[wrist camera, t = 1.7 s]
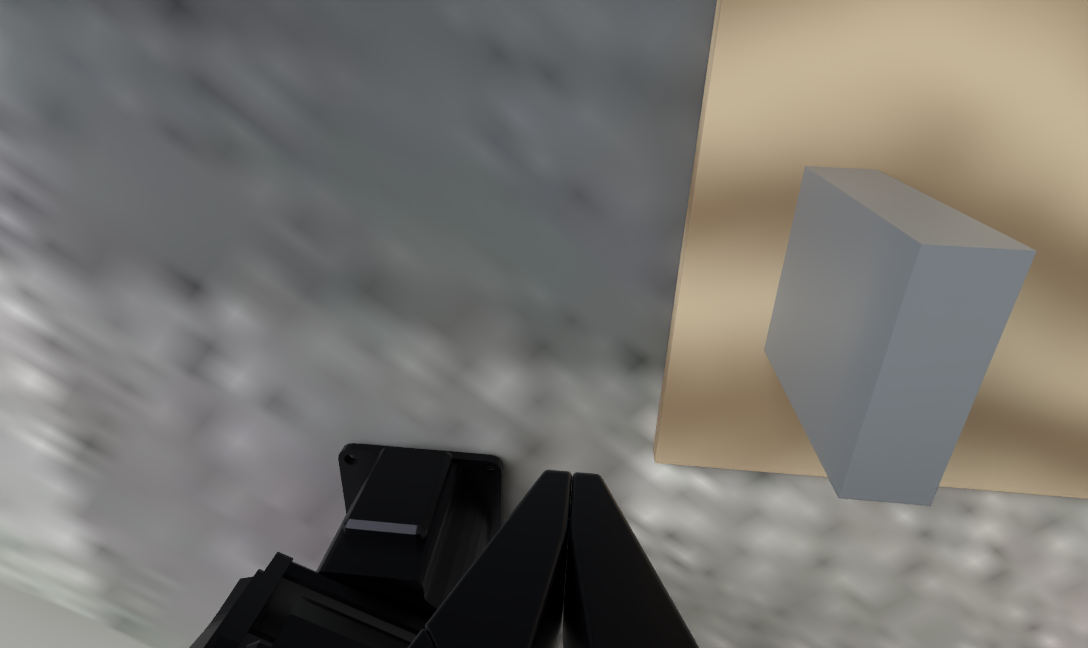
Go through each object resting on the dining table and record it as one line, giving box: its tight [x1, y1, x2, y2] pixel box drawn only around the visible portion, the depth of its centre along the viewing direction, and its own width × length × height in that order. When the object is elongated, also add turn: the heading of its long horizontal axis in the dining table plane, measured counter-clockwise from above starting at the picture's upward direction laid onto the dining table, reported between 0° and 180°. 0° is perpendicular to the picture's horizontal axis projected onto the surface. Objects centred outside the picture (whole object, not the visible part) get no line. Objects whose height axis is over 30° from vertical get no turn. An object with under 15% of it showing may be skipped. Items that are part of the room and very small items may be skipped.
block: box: [764, 166, 1037, 506], centre depth 15 cm, size 6×2×7 cm, turn 178°
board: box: [653, 0, 1088, 499], centre depth 18 cm, size 18×16×1 cm
